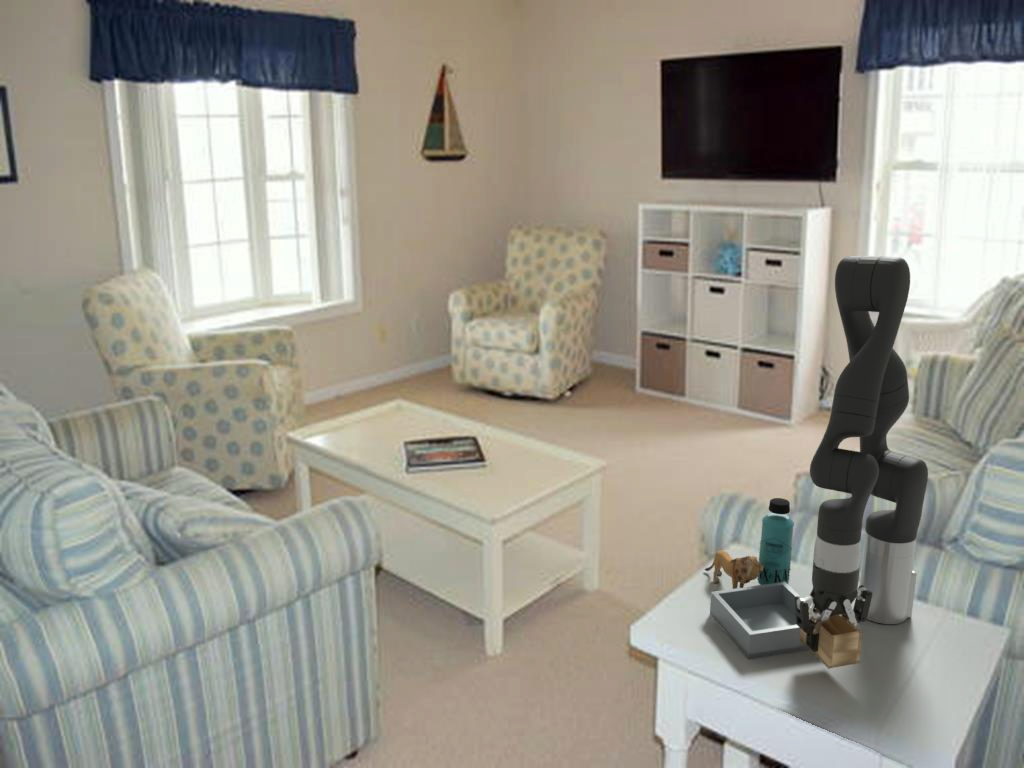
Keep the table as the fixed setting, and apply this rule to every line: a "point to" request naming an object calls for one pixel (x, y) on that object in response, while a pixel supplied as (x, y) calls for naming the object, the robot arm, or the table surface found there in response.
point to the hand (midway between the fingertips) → (829, 645)
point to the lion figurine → (736, 568)
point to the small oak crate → (837, 642)
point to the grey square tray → (759, 618)
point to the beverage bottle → (776, 543)
